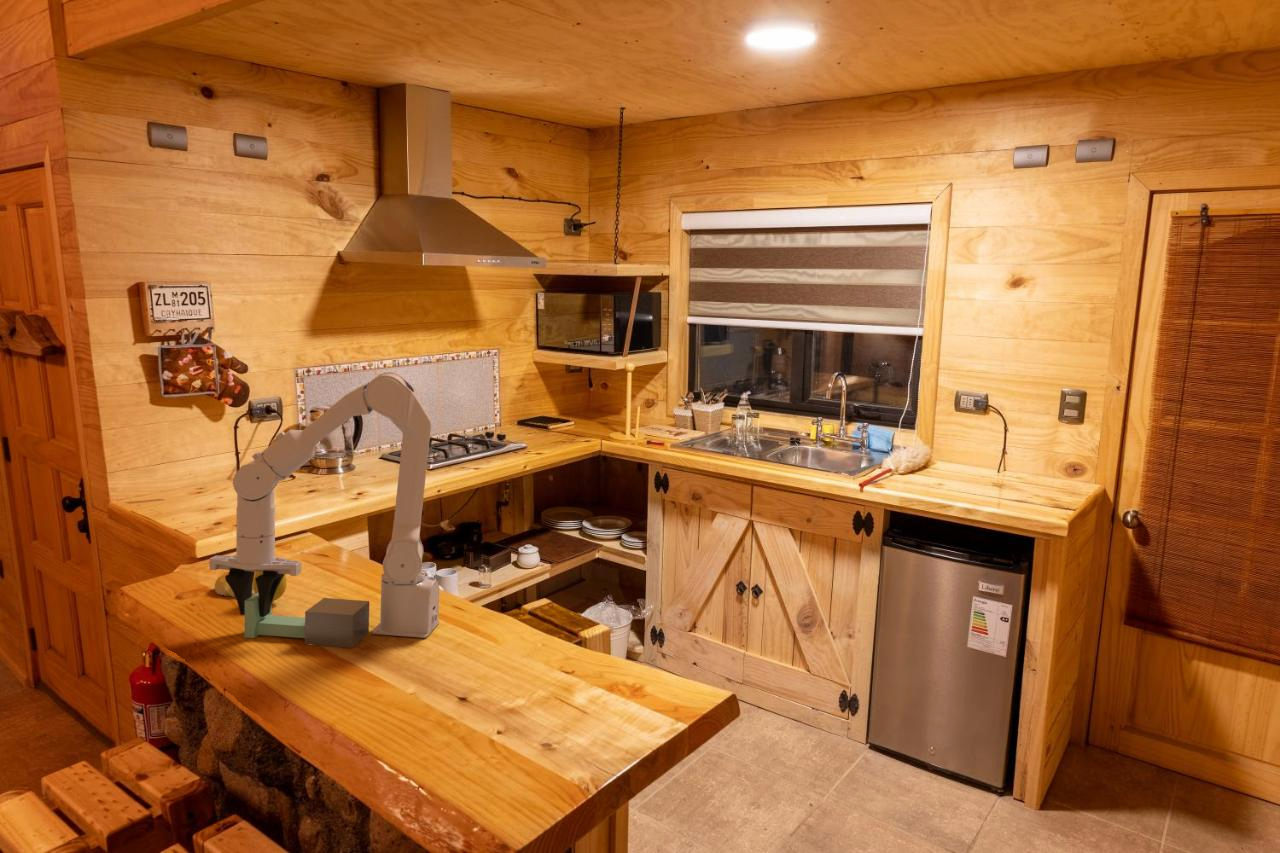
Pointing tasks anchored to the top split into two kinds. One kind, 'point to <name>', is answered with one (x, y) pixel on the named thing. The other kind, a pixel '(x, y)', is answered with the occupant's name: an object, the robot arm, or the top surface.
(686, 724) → the top surface
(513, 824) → the top surface
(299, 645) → the top surface
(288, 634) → the handle
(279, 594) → the lemon
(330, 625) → the block
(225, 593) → the bread roll
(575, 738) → the top surface
